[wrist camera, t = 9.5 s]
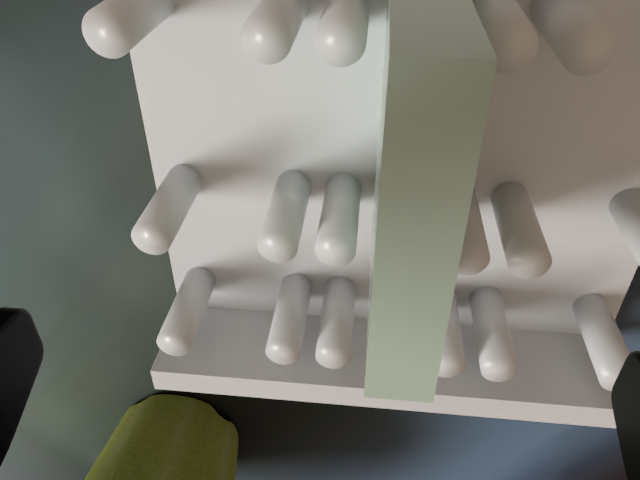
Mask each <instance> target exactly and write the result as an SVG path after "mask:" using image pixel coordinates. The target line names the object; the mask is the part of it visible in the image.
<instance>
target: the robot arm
mask: <svg viewBox="0 0 640 480" xmlns="http://www.w3.org/2000/svg"><path fill="white" fill-rule="evenodd" d="M42 359H43V344H42V341H41V339H40V336H39V334H38V332H37V329H36V327H35V324H34V322H33V319H32V317H31V315H30V313H29V312H28V311H27V310H25V309H21V308H6V307H2V308H0V466H1V464H2V462H3V460H4V458H5V456H6V453H7V451H8V449H9V447H10V444H11V442H12V439H13V437H14V434H15V432H16V429H17V426H18V424H19V421H20V418H21V416H22V413H23V410H24V408H25V405H26V402H27V400H28V397H29V394H30V392H31V389H32V386H33V384H34V381H35V378H36V376H37V373H38V370H39V368H40V365H41V362H42ZM611 403H612V408H613V413H614V418H615V424H616V429H617V434H618V439H619V444H620V449H621V454H622V459H623V464H624V469H625V475H626V480H640V351H633V352H631V353H630V354H629V355H628V356H627V358H626V360H625V362H624V364H623V366H622V368H621V370H620V372H619V374H618V377H617V379H616V381H615V383H614V385H613V388H612V392H611Z"/></svg>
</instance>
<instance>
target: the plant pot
mask: <svg viewBox="0 0 640 480" xmlns="http://www.w3.org/2000/svg"><path fill="white" fill-rule="evenodd" d="M237 453H238V433H237V430H236V428H235V426H234V424H233V423H232V422H231V421H226V420H225V419H223V418H222V417H221V416H220V415H219V414H218V413H217V412H216V411H215V409H214V408H213V407H212V406H211V405H209V404H207V403H205V402H203V401H200V400H197V399H194V398H191V397H186V396H180V395H172V394H160V395H153V396H150V397H148V398H147V399H145V400H144V401H142V402H140V403H138V404H136V405H131V406H130V407H129V409H128V410H127V411H126V413H125V414H124V416H123V418H122V419H121V421H120V423H119V424H118V426H117V427H116V429H115V431H114V432H113V434H112V436H111V437H110V439H109V441H108V442H107V444H106V445H105V447H104V449H103V450H102V452H101V454H100V455H99V457H98V458H97V460H96V462H95V463H94V465H93V466H92V468H91V470H90V471H89V473H88V474H87V476H86V477H85V479H84V480H235V475H236V466H237Z"/></svg>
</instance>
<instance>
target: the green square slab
mask: <svg viewBox="0 0 640 480" xmlns="http://www.w3.org/2000/svg"><path fill="white" fill-rule="evenodd" d="M497 62H498V59H497V56H496V54H495V52H494V50H493V47H492V45H491V43H490V40H489V38H488V36H487V34H486V31H485V29H484V27H483V24H482V22H481V20H480V18H479V15H478V13H477V11H476V9H475V6H474V4H473V2H472V0H388V1H387V16H386V30H385V45H384V59H383V74H382V88H381V103H380V117H379V132H378V146H377V161H376V175H375V190H374V204H373V223H372V243H371V263H370V284H369V304H368V324H367V345H366V365H365V385H364V397H369V398H381V399H393V400H405V401H417V402H429V403H433V401H434V396H435V391H436V385H437V380H438V375H439V369H440V364H441V359H442V353H443V348H444V343H445V338H446V332H447V327H448V322H449V316H450V311H451V306H452V300H453V295H454V290H455V285H456V279H457V274H458V269H459V263H460V258H461V253H462V247H463V242H464V237H465V232H466V226H467V221H468V216H469V210H470V205H471V200H472V194H473V189H474V184H475V179H476V173H477V168H478V163H479V157H480V152H481V147H482V141H483V136H484V131H485V126H486V120H487V115H488V110H489V104H490V99H491V94H492V88H493V83H494V78H495V73H496V67H497Z"/></svg>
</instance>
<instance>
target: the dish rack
mask: <svg viewBox="0 0 640 480" xmlns="http://www.w3.org/2000/svg"><path fill="white" fill-rule="evenodd" d="M387 1H388V0H104V1H103V2H101V3H100V4H98V5H96V6H95V7H93V8H92V9H90V10H89V11H88V12H87V13H86V14H85V15H84V17H83V20H82V33H83V36H84V39H85V40H86V42H87V44H88V45H89V46H90V48H91V49H92V50H93V51H95V52H96V53H97V54H99V55H101V56H103V57H106V58H110V59H116V58H120V57H122V56H124V55H125V54H127V53H128V52H129V51H130V56H131V61H132V66H133V71H134V76H135V81H136V86H137V92H138V97H139V102H140V107H141V112H142V117H143V122H144V128H145V133H146V138H147V143H148V148H149V153H150V158H151V163H152V169H153V174H154V179H155V184H156V189H157V191H156V193H155V194H154V196H153V197H152V199H151V201H150V202H149V204H148V205H147V207H146V208H145V210H144V212H143V213H142V215H141V216H140V218H139V220H138V221H137V223H136V224H135V226H134V227H133V229H132V231H131V238H132V241H133V243H134V244H135V245H136V246H137V247H138V248H139V249H140V250H141V251H143V252H145V253H148V254H151V255H160V254H163V253H165V252H167V251H169V256H170V261H171V266H172V271H173V276H174V282H175V287H176V292H177V295H176V297H175V299H174V302H173V304H172V306H171V308H170V310H169V313H168V315H167V317H166V319H165V321H164V324H163V326H162V328H161V330H160V333H159V335H158V337H157V340H156V342H157V345H158V347H159V348H160V350H159V352H158V354H157V356H156V359H155V361H154V363H153V366H152V368H151V370H150V372H151V376H152V380H153V384H154V388H155V389H161V390H173V391H185V392H197V393H208V394H220V395H232V396H243V397H255V398H267V399H278V400H290V401H302V402H313V403H325V404H337V405H349V406H360V407H372V408H384V409H395V410H407V411H419V412H430V413H442V414H454V415H466V416H477V417H489V418H501V419H512V420H524V421H536V422H547V423H559V424H571V425H582V426H594V427H606V428H616V424H615V418H614V413H613V408H612V403H611V392H612V388H613V385H614V383H615V381H616V379H617V377H618V374H619V372H620V370H621V368H622V366H623V364H624V362H625V360H626V358H627V356H628V355H629V354H630V353H629V351H628V348H627V346H626V344H625V342H624V339H623V337H622V335H621V333H620V330H619V328H618V326H617V324H616V321H615V319H616V316H617V314H618V312H619V309H620V307H621V304H622V302H623V300H624V297H625V295H626V293H627V290H628V288H629V286H630V283H631V281H632V279H633V276H634V274H635V272H636V269H637V267H638V265H639V266H640V0H472V2H473V4H474V6H475V9H476V11H477V13H478V15H479V18H480V20H481V22H482V24H483V27H484V29H485V31H486V34H487V36H488V38H489V40H490V43H491V45H492V47H493V50H494V52H495V54H496V56H497V59H498V62H497V67H496V73H495V78H494V83H493V88H492V94H491V99H490V104H489V110H488V115H487V120H486V126H485V131H484V136H483V141H482V147H481V152H480V157H479V163H478V168H477V173H476V179H475V184H474V189H473V194H472V200H471V205H470V210H469V216H468V221H467V226H466V232H465V237H464V242H463V247H462V253H461V258H460V263H459V269H458V274H457V279H456V285H455V290H454V295H453V300H452V306H451V311H450V316H449V322H448V327H447V332H446V338H445V343H444V348H443V353H442V359H441V364H440V369H439V375H438V380H437V385H436V391H435V396H434V401H433V403H429V402H417V401H405V400H393V399H381V398H369V397H364V385H365V365H366V345H367V324H368V304H369V284H370V263H371V243H372V223H373V204H374V190H375V175H376V161H377V146H378V132H379V117H380V103H381V88H382V74H383V59H384V45H385V30H386V16H387Z"/></svg>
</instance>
